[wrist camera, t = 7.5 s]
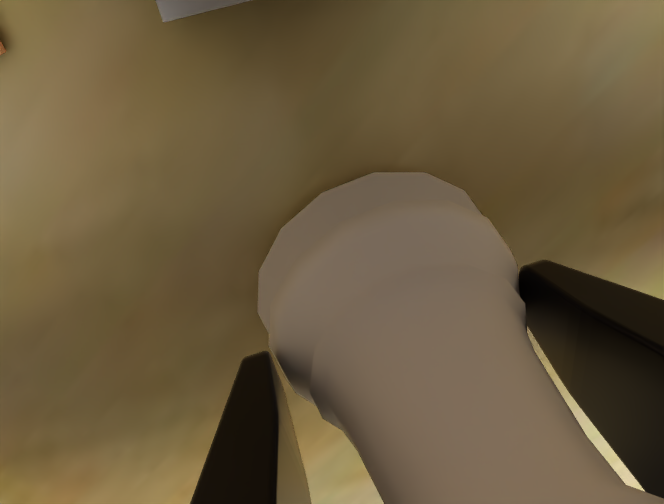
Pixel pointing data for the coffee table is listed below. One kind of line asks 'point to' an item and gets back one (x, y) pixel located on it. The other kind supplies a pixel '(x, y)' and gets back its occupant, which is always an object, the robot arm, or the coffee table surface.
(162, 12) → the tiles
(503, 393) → the rook chess piece
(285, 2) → the coffee table surface
